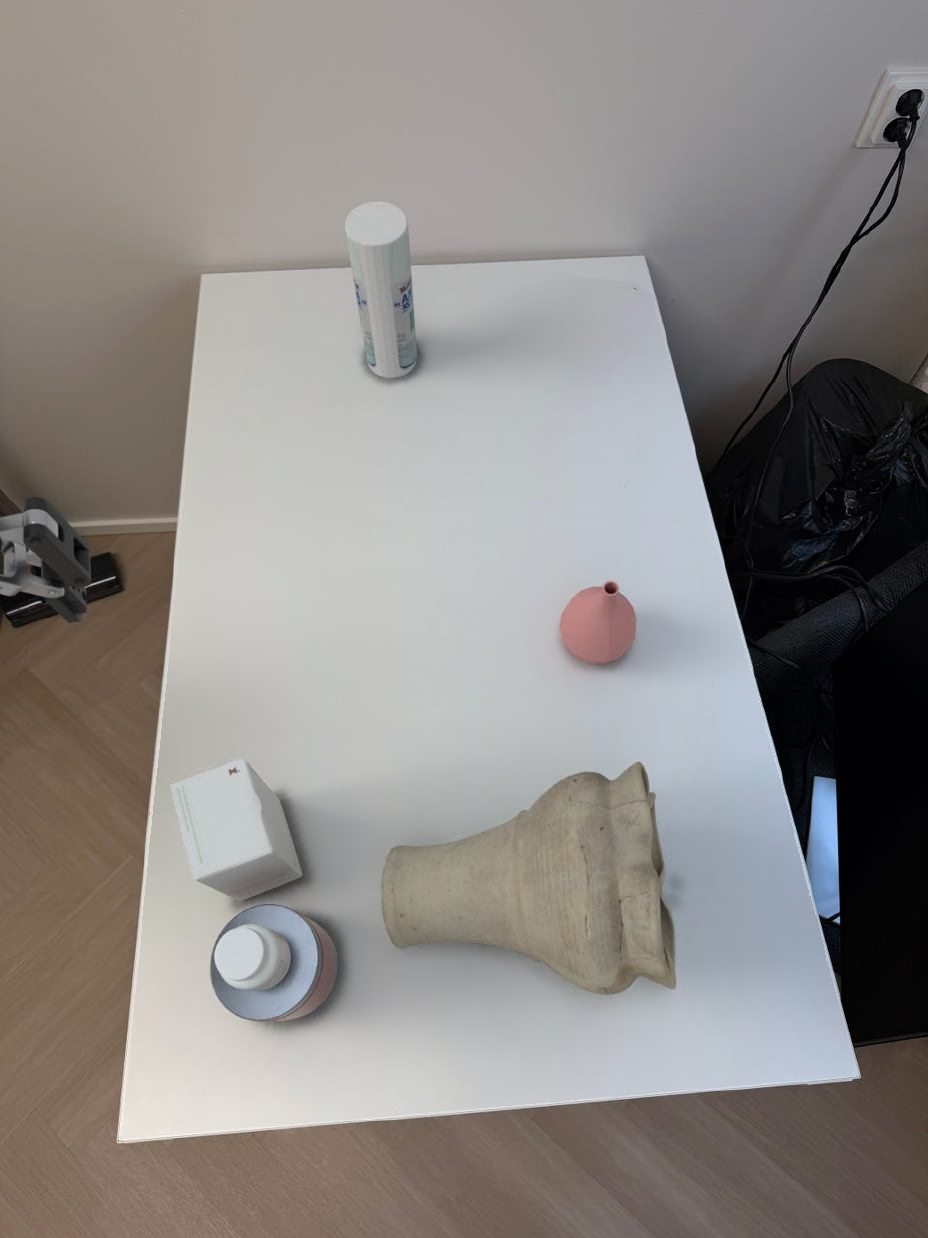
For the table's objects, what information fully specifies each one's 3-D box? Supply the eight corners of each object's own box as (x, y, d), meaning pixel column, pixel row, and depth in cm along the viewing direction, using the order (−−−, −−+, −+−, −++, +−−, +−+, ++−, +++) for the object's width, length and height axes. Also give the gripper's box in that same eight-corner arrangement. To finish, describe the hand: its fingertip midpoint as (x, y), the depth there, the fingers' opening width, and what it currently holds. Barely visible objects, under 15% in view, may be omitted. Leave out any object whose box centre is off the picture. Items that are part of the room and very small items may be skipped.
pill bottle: (230, 938, 66) (202, 930, 59) (286, 923, 66) (264, 912, 59) (239, 998, 64) (211, 996, 57) (296, 981, 64) (275, 978, 57)
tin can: (248, 1030, 73) (213, 1033, 63) (238, 928, 76) (204, 916, 66) (345, 1008, 74) (326, 1007, 64) (331, 908, 77) (311, 892, 67)
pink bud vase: (611, 598, 90) (631, 542, 80) (642, 660, 87) (667, 610, 76) (545, 620, 89) (556, 566, 78) (573, 684, 86) (588, 637, 75)
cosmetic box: (217, 820, 80) (164, 780, 66) (284, 795, 81) (245, 751, 67) (239, 906, 77) (188, 883, 63) (308, 879, 78) (274, 850, 64)
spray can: (370, 337, 106) (349, 198, 88) (421, 341, 106) (411, 202, 88) (362, 377, 103) (339, 242, 85) (415, 381, 103) (403, 247, 85)
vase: (298, 1045, 61) (696, 1038, 55) (295, 745, 67) (655, 709, 61) (394, 993, 81) (692, 984, 75) (385, 767, 87) (661, 742, 81)
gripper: (-7, 383, 40) (119, 550, 55) (-321, 434, 39) (-106, 591, 54) (-11, 513, 37) (124, 654, 52) (-352, 573, 36) (-115, 700, 51)
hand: (7, 622), depth 53 cm, fingers open, 8 cm apart
